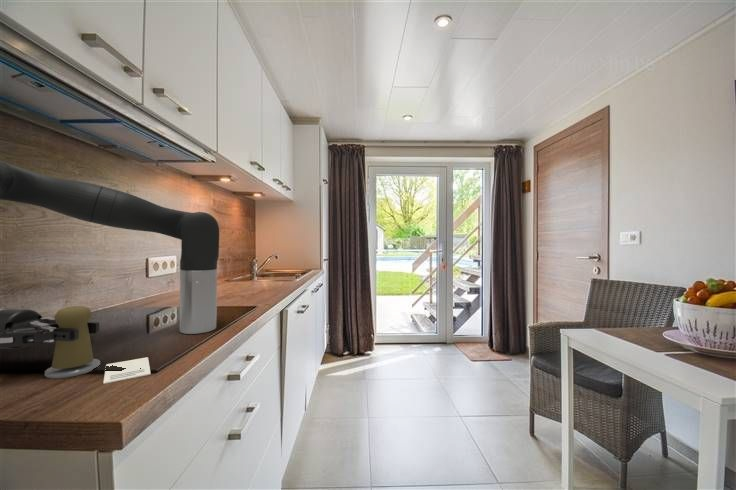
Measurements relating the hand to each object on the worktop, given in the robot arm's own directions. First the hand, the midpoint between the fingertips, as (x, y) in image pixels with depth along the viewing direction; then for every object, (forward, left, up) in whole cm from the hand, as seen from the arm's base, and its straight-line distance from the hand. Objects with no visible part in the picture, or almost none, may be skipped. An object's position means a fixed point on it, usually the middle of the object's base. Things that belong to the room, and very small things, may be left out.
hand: (87, 331), depth 62 cm
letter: (+4, +6, -8) cm, 11 cm away
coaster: (-2, -2, -8) cm, 8 cm away
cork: (-2, -2, -6) cm, 7 cm away
